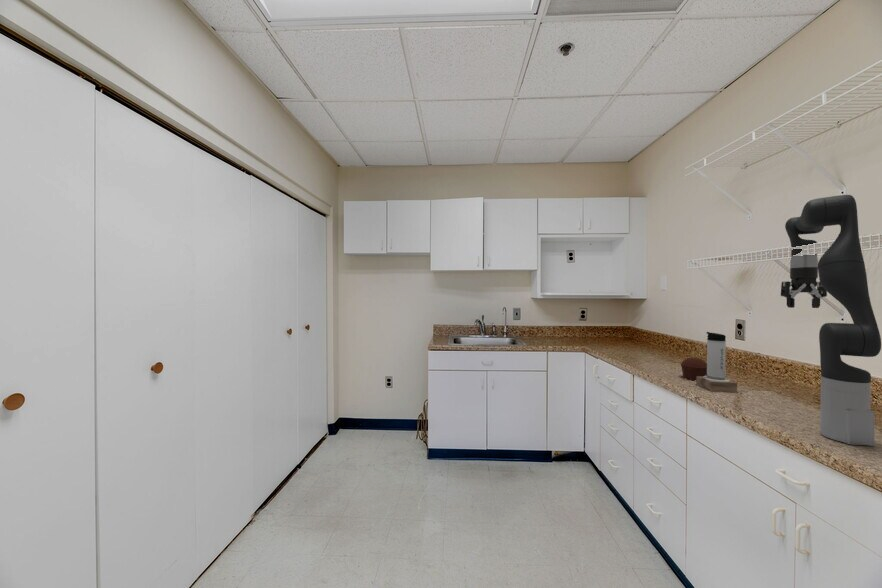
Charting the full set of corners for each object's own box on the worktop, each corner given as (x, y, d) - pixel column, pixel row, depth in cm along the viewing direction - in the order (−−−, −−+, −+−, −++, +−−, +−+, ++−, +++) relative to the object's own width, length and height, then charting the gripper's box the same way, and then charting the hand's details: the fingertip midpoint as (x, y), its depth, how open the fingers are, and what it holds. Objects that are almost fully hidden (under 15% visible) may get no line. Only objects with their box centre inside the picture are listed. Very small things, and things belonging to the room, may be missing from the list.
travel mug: (706, 375, 152) (706, 331, 152) (725, 378, 148) (725, 332, 147) (705, 378, 147) (706, 332, 147) (725, 381, 143) (725, 333, 143)
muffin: (709, 383, 156) (709, 361, 156) (680, 379, 163) (680, 358, 163) (708, 378, 165) (709, 357, 165) (681, 374, 172) (681, 355, 172)
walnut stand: (737, 392, 142) (737, 381, 142) (710, 391, 143) (711, 380, 143) (720, 385, 152) (720, 375, 152) (696, 384, 153) (696, 375, 153)
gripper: (791, 266, 131) (791, 308, 131) (834, 266, 129) (833, 308, 129) (775, 267, 138) (775, 307, 138) (815, 267, 136) (814, 307, 137)
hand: (803, 307), depth 134 cm, fingers open, 8 cm apart
